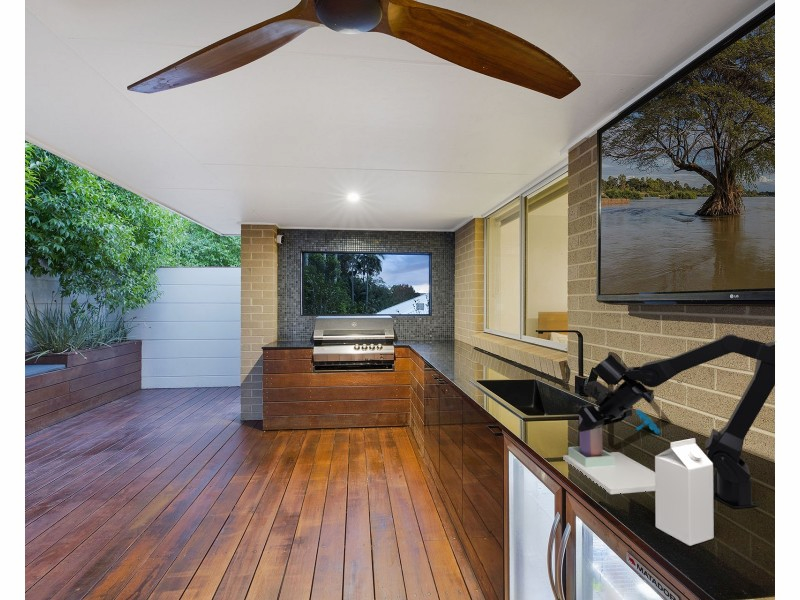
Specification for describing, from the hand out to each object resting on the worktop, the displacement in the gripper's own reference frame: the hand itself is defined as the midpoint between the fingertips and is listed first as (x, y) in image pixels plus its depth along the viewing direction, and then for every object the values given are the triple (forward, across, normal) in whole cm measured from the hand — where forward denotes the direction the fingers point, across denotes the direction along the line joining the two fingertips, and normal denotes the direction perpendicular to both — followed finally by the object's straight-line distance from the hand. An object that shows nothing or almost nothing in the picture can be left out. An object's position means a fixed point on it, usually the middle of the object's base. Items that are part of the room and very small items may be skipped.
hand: (586, 428), depth 120 cm
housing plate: (+1, 0, +13) cm, 13 cm away
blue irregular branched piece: (+10, -44, +4) cm, 45 cm away
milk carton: (-15, +17, +30) cm, 38 cm away
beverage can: (+5, 0, +7) cm, 9 cm away
